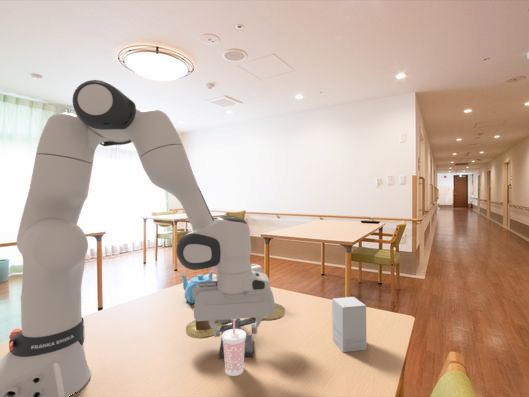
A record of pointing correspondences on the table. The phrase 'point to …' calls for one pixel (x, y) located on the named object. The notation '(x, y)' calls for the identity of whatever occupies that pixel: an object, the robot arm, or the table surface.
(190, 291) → the teapot
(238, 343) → the beverage cup
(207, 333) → the balance
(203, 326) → the walnut block
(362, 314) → the supplement box
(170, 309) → the table surface
